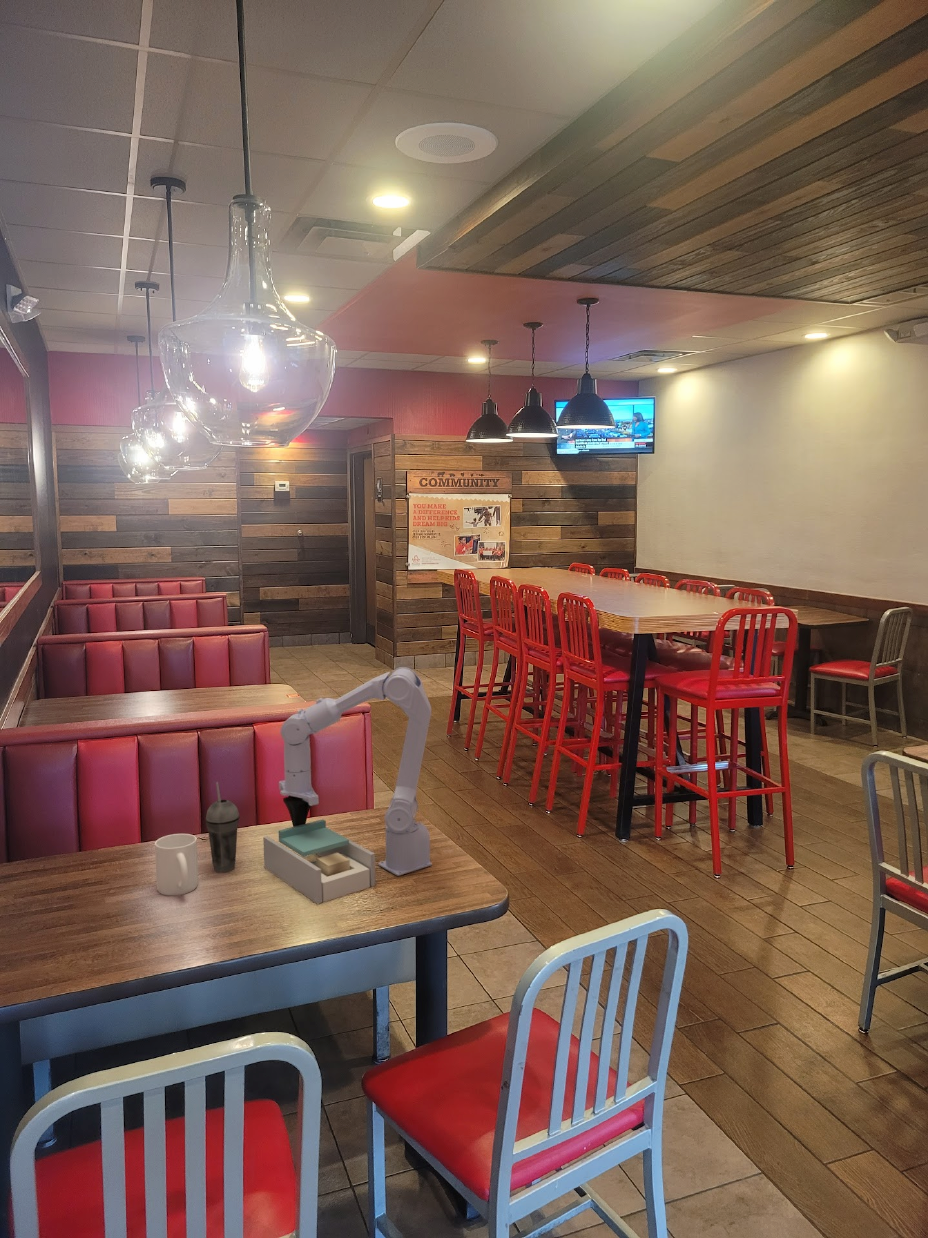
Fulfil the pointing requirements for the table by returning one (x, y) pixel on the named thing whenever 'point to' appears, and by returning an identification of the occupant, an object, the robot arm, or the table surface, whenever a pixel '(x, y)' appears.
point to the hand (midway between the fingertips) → (299, 828)
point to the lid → (311, 838)
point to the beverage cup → (222, 833)
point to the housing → (309, 875)
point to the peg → (333, 864)
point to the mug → (176, 864)
